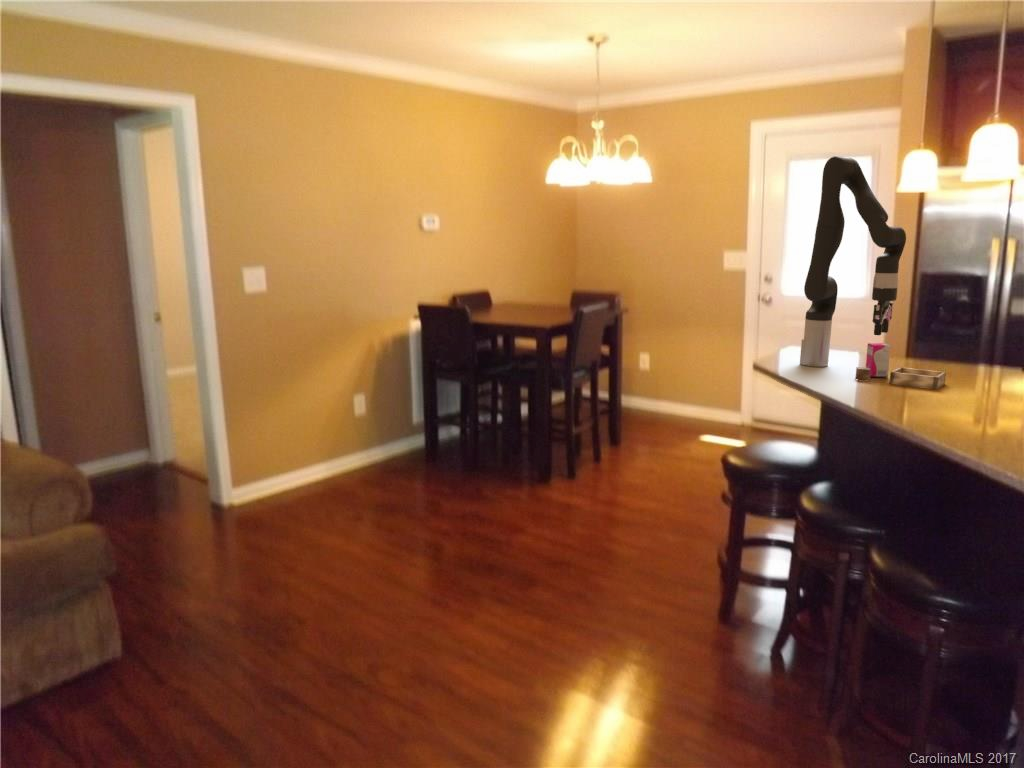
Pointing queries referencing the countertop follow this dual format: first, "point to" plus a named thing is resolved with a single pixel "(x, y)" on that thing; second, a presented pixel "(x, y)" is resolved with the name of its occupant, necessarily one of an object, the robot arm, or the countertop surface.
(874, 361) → the supplement box
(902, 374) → the crate
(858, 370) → the walnut block
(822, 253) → the robot arm
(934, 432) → the countertop surface
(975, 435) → the countertop surface
